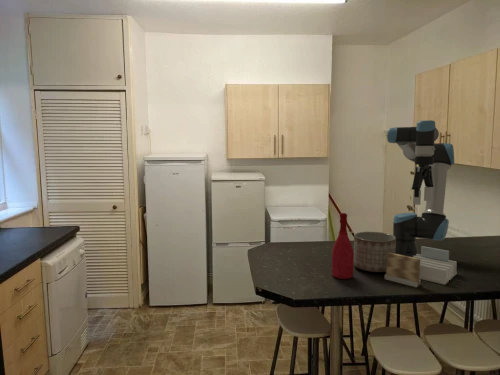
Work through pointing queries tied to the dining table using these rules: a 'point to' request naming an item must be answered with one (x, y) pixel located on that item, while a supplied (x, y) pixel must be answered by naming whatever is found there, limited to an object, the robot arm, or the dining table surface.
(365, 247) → the planter
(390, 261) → the oak board
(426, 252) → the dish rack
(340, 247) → the wine bottle
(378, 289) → the dining table surface
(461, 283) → the dining table surface
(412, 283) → the board stand
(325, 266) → the dining table surface
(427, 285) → the dining table surface
